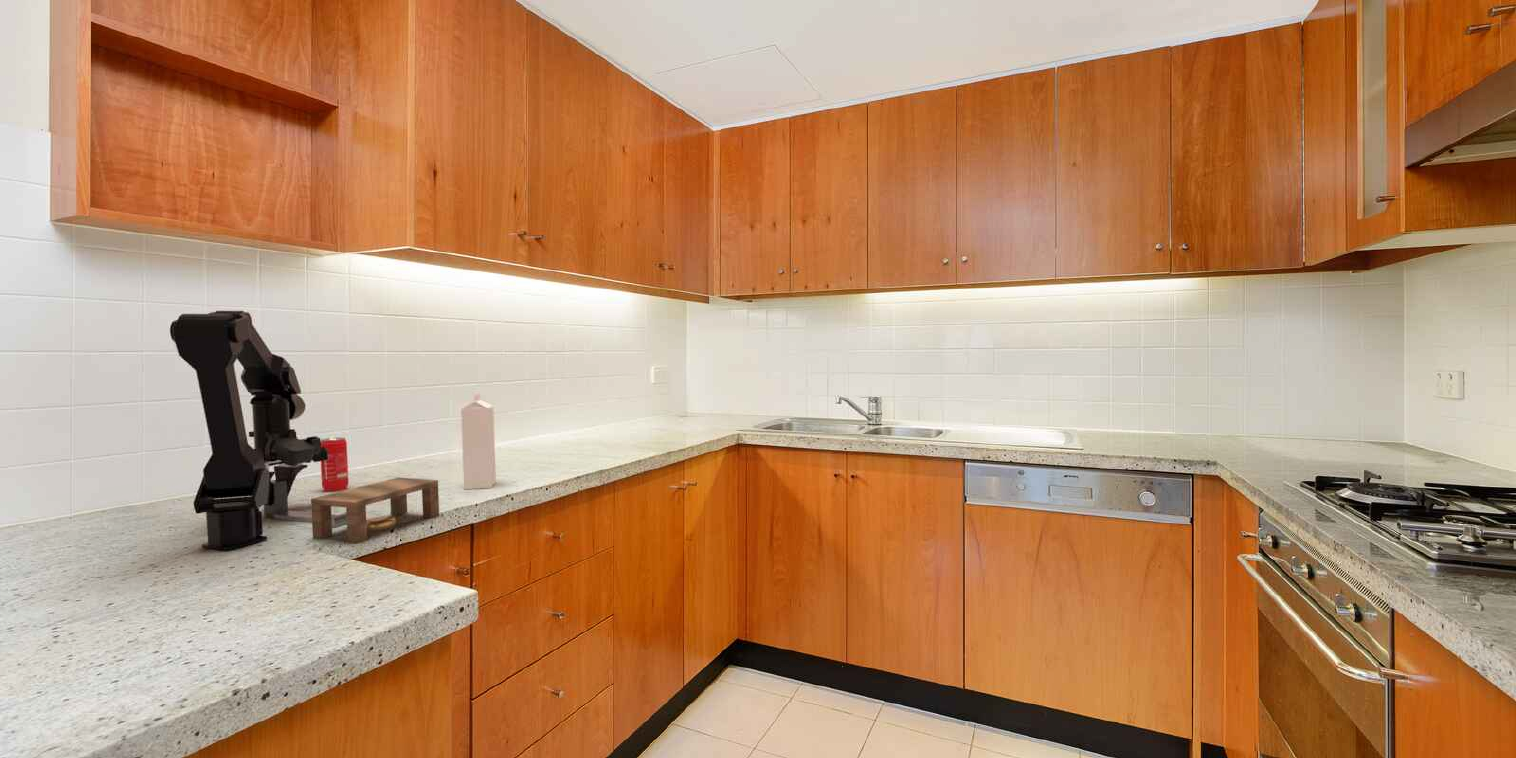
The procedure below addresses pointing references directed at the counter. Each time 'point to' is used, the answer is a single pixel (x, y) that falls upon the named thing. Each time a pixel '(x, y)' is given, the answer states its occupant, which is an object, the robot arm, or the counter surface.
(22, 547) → the counter surface
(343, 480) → the beverage can
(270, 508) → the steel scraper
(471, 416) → the milk
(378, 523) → the brass token
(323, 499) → the walnut bench
